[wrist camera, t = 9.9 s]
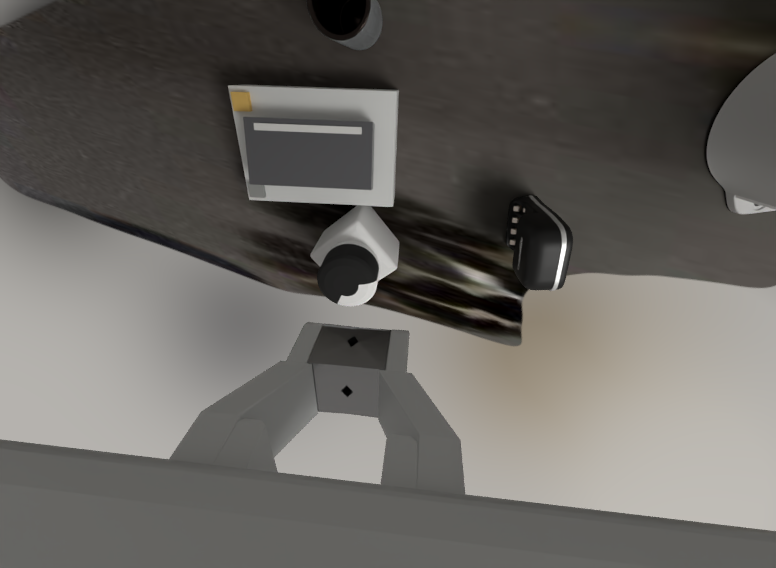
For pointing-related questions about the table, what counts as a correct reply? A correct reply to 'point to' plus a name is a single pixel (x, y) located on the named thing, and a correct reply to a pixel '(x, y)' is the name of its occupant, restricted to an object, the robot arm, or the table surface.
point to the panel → (324, 106)
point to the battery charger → (538, 244)
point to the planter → (347, 21)
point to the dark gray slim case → (310, 152)
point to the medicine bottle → (355, 256)
